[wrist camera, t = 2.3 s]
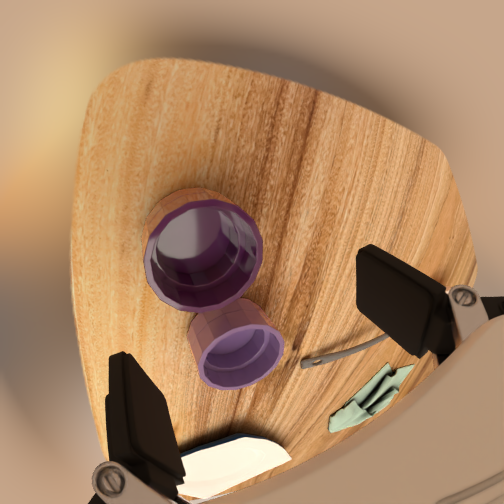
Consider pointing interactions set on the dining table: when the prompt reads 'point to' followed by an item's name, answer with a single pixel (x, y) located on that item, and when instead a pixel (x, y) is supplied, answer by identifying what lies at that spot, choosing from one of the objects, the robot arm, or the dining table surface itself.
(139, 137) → the dining table surface
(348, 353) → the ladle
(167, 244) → the plum bowl
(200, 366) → the lavender bowl
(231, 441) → the plate
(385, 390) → the cloth
